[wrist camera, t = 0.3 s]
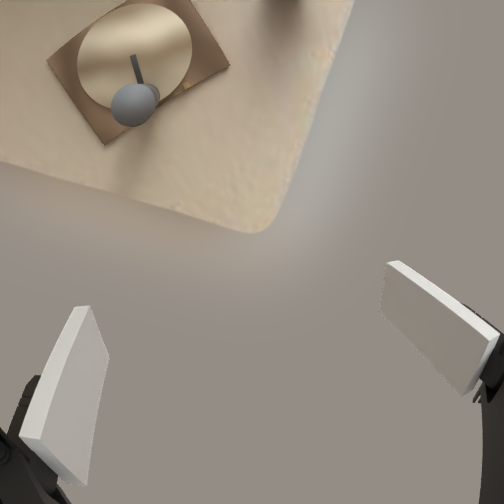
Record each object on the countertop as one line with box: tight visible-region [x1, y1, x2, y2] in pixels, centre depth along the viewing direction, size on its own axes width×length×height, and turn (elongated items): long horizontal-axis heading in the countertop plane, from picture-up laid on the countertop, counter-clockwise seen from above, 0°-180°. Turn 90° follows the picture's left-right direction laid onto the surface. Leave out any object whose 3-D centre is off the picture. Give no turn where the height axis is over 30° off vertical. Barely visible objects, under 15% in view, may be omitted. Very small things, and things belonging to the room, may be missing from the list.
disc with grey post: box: [77, 3, 192, 127], centre depth 19 cm, size 12×12×12 cm
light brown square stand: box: [47, 0, 230, 146], centre depth 23 cm, size 16×13×2 cm
